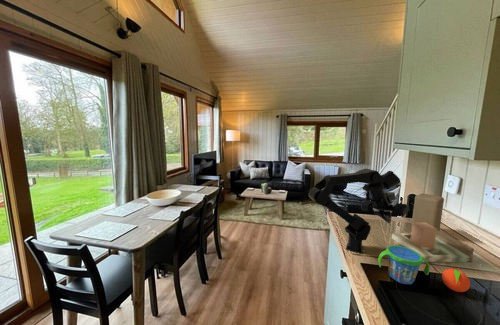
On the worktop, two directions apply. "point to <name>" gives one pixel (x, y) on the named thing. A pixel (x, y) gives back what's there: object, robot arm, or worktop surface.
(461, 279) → the clementine
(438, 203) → the wooden block
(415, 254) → the snack cup
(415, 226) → the terracotta block
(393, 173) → the robot arm
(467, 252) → the beige flat square piece
